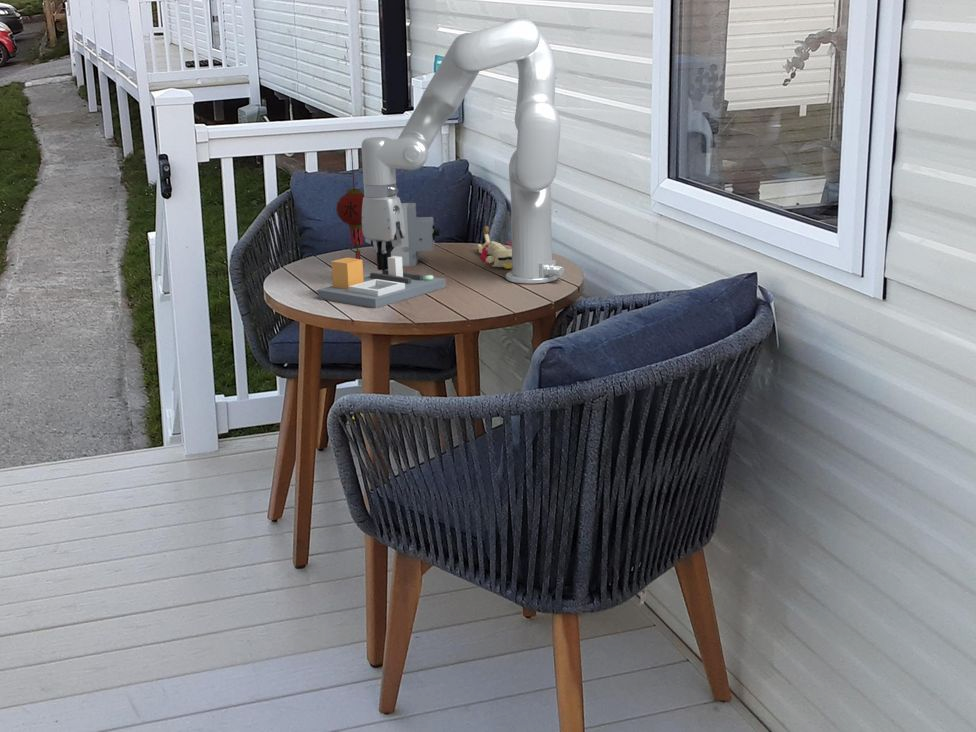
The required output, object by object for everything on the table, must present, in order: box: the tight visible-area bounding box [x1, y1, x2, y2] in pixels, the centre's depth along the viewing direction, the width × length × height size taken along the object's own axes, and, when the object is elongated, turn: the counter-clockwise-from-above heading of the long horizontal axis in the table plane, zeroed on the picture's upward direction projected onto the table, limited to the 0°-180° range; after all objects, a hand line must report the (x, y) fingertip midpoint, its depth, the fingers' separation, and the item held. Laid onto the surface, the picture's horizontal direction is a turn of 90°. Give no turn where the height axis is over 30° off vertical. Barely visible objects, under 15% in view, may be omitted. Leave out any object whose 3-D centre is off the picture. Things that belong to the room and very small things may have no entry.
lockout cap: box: [330, 257, 364, 289], centre depth 268 cm, size 5×5×6 cm
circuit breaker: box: [387, 202, 441, 267], centre depth 301 cm, size 8×14×15 cm, turn 89°
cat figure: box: [474, 225, 512, 269], centre depth 301 cm, size 10×9×25 cm
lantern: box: [336, 148, 364, 259], centre depth 294 cm, size 10×10×30 cm
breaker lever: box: [387, 256, 404, 277], centre depth 274 cm, size 2×2×5 cm
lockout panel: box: [316, 269, 447, 309], centre depth 270 cm, size 18×24×3 cm
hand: (384, 268), depth 276 cm, fingers closed
